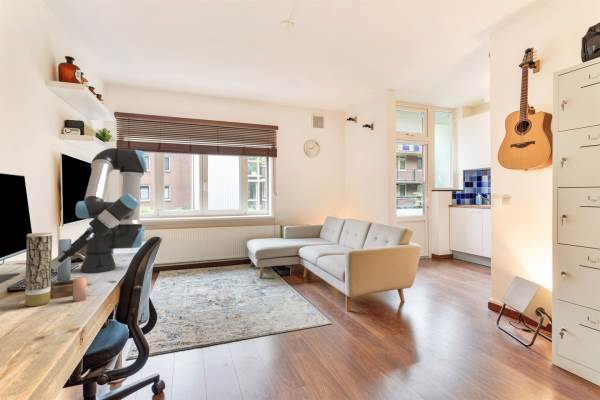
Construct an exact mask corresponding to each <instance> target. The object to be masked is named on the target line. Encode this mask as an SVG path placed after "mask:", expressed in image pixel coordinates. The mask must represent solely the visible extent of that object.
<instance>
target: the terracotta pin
mask: <svg viewBox="0 0 600 400" xmlns="http://www.w3.org/2000/svg"><path fill="white" fill-rule="evenodd" d="M87 280H88V278H87V277H76V278H73V296H72V302H74V303H80V301H81V302H84V301H86V300H87V287H88V286H87V282H88V281H87Z"/></svg>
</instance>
